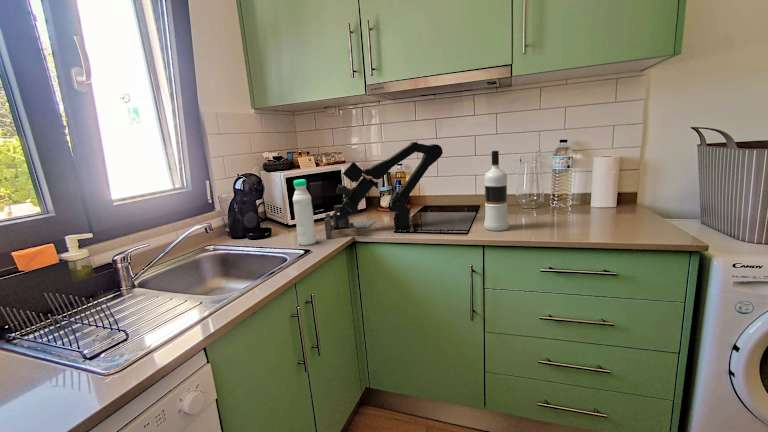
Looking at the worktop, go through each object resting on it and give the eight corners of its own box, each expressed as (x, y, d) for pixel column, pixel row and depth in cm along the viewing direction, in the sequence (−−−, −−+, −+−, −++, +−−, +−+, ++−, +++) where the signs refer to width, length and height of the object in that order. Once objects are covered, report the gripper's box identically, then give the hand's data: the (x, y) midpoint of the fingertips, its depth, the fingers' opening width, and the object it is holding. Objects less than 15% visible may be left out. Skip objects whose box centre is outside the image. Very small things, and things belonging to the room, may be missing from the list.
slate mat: (375, 221, 174) (375, 220, 174) (367, 228, 163) (367, 227, 163) (351, 221, 178) (351, 221, 178) (342, 228, 167) (342, 227, 167)
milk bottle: (308, 246, 142) (299, 181, 137) (294, 244, 146) (286, 181, 140) (320, 241, 148) (312, 178, 143) (307, 240, 151) (299, 178, 146)
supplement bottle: (353, 231, 159) (350, 204, 156) (345, 236, 153) (342, 207, 150) (339, 231, 162) (336, 204, 159) (331, 235, 156) (328, 207, 153)
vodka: (481, 231, 144) (479, 152, 138) (487, 225, 152) (485, 150, 145) (506, 232, 139) (505, 151, 133) (511, 226, 147) (510, 149, 141)
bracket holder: (356, 228, 164) (354, 210, 162) (357, 236, 151) (355, 216, 150) (327, 231, 163) (325, 213, 161) (326, 239, 150) (324, 219, 149)
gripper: (346, 175, 162) (323, 202, 163) (346, 179, 144) (321, 210, 145) (365, 191, 164) (343, 218, 165) (368, 198, 146) (343, 228, 147)
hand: (337, 218), depth 156 cm, fingers closed on supplement bottle, 7 cm apart
